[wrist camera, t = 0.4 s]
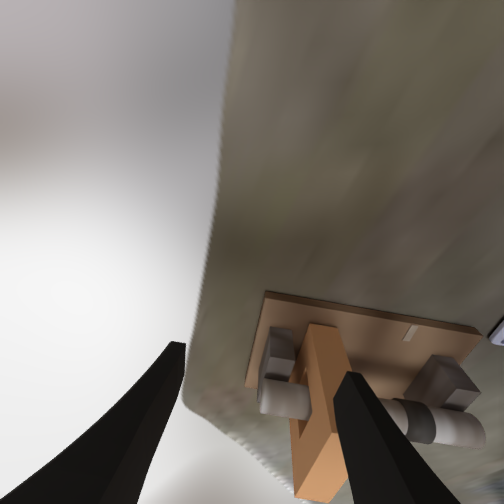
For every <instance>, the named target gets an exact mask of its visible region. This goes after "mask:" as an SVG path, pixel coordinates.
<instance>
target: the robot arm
mask: <svg viewBox="0 0 504 504" xmlns="http://www.w3.org/2000/svg"><path fill="white" fill-rule="evenodd" d="M489 340H490V341H491V342H492V343H493V344H496V345H502V346H504V320H503V321H502V323H501V324H500V325H499V326H498V327H497V329H496V330H495V331H494V332H493V333H492V335H491V336H490V337H489ZM185 351H186V343H180V342H174V341H171V342H170V343H169V344H168V346H167V347H166V348H165V349H164V351H163V352H162V353H161V355H160V356H159V357H158V358H157V359H156V361H155V362H154V363H153V364H152V365H151V367H150V368H149V369H148V370H147V371H146V372H145V373H144V374H143V375H142V377H141V378H140V379H139V380H138V381H137V382H136V383H135V384H134V385H133V386H132V387H131V388H130V390H129V391H127V393H126V394H124V396H123V397H122V398H121V399H120V400H119V401H118V402H117V403H116V404H115V405H114V406H113V407H112V408H111V409H109V410H108V411H107V413H105V414H104V415H103V416H102V417H101V418H100V419H99V420H98V421H97V422H96V423H94V424H93V425H92V426H91V427H90V428H89V429H88V430H87V431H86V432H84V433H83V434H82V435H81V436H80V437H79V438H78V439H76V440H75V441H74V442H73V443H72V444H70V445H69V446H68V447H67V448H66V449H64V450H63V451H62V452H61V453H60V454H58V455H57V456H56V457H55V458H54V459H52V460H51V461H50V462H49V463H47V464H46V465H45V466H43V467H42V468H41V469H40V470H38V471H37V472H36V473H34V474H33V475H32V476H30V477H29V478H28V479H27V480H25V481H24V482H23V483H21V484H20V485H19V486H17V487H16V488H15V489H13V490H12V491H11V492H10V493H8V494H7V495H6V496H4V497H3V498H1V499H0V504H137V502H138V499H139V496H140V492H141V490H142V487H143V484H144V481H145V478H146V474H147V472H148V469H149V466H150V464H151V461H152V458H153V456H154V453H155V451H156V449H157V446H158V444H159V441H160V439H161V436H162V434H163V432H164V429H165V427H166V424H167V422H168V419H169V417H170V415H171V412H172V409H173V407H174V405H175V402H176V400H177V397H178V394H179V390H180V387H181V384H182V380H183V377H184V371H185ZM333 405H334V414H335V421H336V427H337V431H338V436H339V440H340V444H341V449H342V453H343V457H344V461H345V465H346V469H347V474H348V478H349V482H350V486H351V490H352V495H353V500H354V504H461V503H460V502H459V501H458V500H457V499H456V498H455V497H454V495H453V494H452V493H451V492H450V491H449V490H448V488H447V487H446V486H445V485H444V484H443V483H442V481H441V480H440V479H439V478H438V477H437V476H436V474H435V473H434V472H433V471H432V470H431V468H430V467H429V466H428V465H427V463H426V462H425V461H424V460H423V458H422V457H421V456H420V455H419V453H418V452H417V451H416V449H415V448H414V447H413V446H412V444H411V443H410V442H409V440H408V439H407V438H406V436H405V435H404V434H403V432H402V431H401V430H400V428H399V427H398V425H397V424H396V423H395V421H394V420H393V419H392V417H391V416H390V414H389V413H388V412H387V410H386V409H385V407H384V406H383V404H382V403H381V402H380V400H379V399H378V397H377V396H376V394H375V393H374V391H373V390H372V389H371V387H370V386H369V384H368V383H367V381H366V380H365V378H364V377H363V375H362V374H361V373H358V372H352V371H347V372H346V374H345V376H344V378H343V380H342V382H341V384H340V386H339V388H338V390H337V392H336V394H335V396H334V398H333Z"/></svg>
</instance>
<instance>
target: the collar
mask: <svg viewBox="0 0 504 504" xmlns="http://www.w3.org/2000/svg"><path fill="white" fill-rule="evenodd" d="M347 371H352V369H351V366H350V363H349V360H348V357H347V354H346V351H345V348H344V345H343V342H342V339H341V337H340V334H339V331H338V328H334V327H328V326H323V325H317V324H311V323H309V326H308V329H307V332H306V335H305V337H304V340H303V343H302V346H301V348H300V351H299V354H298V357H297V360H296V362H295V365H294V368H293V371H292V373H291V376H290V379H289V382H290V383H296V384H302V385H307V386H309V392H310V398H311V405H312V414H311V417H310V419H309V421H305V420H299V419H293V418H289V420H290V435H291V450H292V465H293V480H294V495H295V498H301V499H307V500H313V501H319V502H325V503H329V502H330V501H331V500H332V498H333V497H334V495H335V494H336V493H337V491H338V490H339V489H340V487H341V486H342V485H343V483H344V482H345V481H346V479H347V478H348V474H347V469H346V465H345V461H344V457H343V453H342V449H341V444H340V440H339V436H338V431H337V427H336V421H335V414H334V405H333V398H334V396H335V394H336V392H337V390H338V388H339V386H340V384H341V382H342V380H343V378H344V376H345V374H346V372H347Z"/></svg>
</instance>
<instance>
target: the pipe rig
mask: <svg viewBox="0 0 504 504" xmlns="http://www.w3.org/2000/svg"><path fill="white" fill-rule="evenodd" d="M309 323H311V324H317V325H323V326H328V327H334V328H338V331H339V334H340V337H341V339H342V342H343V345H344V348H345V351H346V354H347V357H348V360H349V363H350V366H351V369H352V372H358V373H361V374H362V375H363V377H364V378H365V380H366V381H367V383H368V384H369V386H370V387H371V389H372V390H373V391H374V393H375V394H376V396H377V397H378V399H379V400H380V402H381V403H382V404H383V406H384V407H385V409H386V410H387V412H388V413H389V414H390V416H391V417H392V419H393V420H394V421H395V423H396V424H397V425H398V427H399V428H400V430H401V431H402V432H403V434H404V435H405V436H406V438H407V439H408V440H409V441H412V442H418V443H424V444H431V443H432V442H436V443H442V444H448V445H454V446H460V447H466V448H472V449H481V448H483V447H484V445H485V442H486V436H485V431H484V429H483V426H482V425H481V423H480V422H479V420H478V419H477V418H476V417H475V416H473V415H472V414H470V413H466V412H464V411H465V410H466V408H467V407H468V406H469V405H470V404H471V403H472V402H473V401H474V400H475V399H476V398H477V397H478V396H479V395H480V394H481V392H480V390H479V389H478V388H477V387H476V386H475V384H474V383H473V382H472V381H471V379H470V378H469V377H468V376H467V374H466V373H465V372H464V371H463V369H462V368H461V367H460V366H459V365H460V364H461V363H462V362H463V361H464V359H465V358H466V357H467V356H468V354H469V353H470V352H471V351H472V350H473V348H474V347H475V346H476V345H477V343H478V342H479V341H480V340H481V339H482V337H483V335H482V334H481V333H480V332H479V331H478V330H477V329H476V328H474V327H468V326H462V325H457V324H451V323H445V322H439V321H434V320H428V319H422V318H417V317H411V316H405V315H399V314H394V313H388V312H382V311H377V310H371V309H365V308H359V307H354V306H348V305H342V304H337V303H331V302H325V301H319V300H314V299H308V298H302V297H297V296H291V295H285V294H279V293H274V292H268V291H265V296H264V300H263V304H262V309H261V313H260V317H259V321H258V326H257V330H256V334H255V339H254V343H253V347H252V352H251V356H250V360H249V365H248V369H247V373H246V377H245V386H244V387H248V388H254V389H258V391H257V403H260V413H264V414H270V415H276V416H282V417H287V418H293V419H299V420H305V421H309V419H310V417H311V414H312V405H311V398H310V392H309V386H307V385H302V384H296V383H290V382H289V379H290V376H291V373H292V371H293V368H294V365H295V362H296V360H297V357H298V354H299V351H300V348H301V346H302V343H303V340H304V337H305V335H306V332H307V329H308V326H309Z"/></svg>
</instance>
